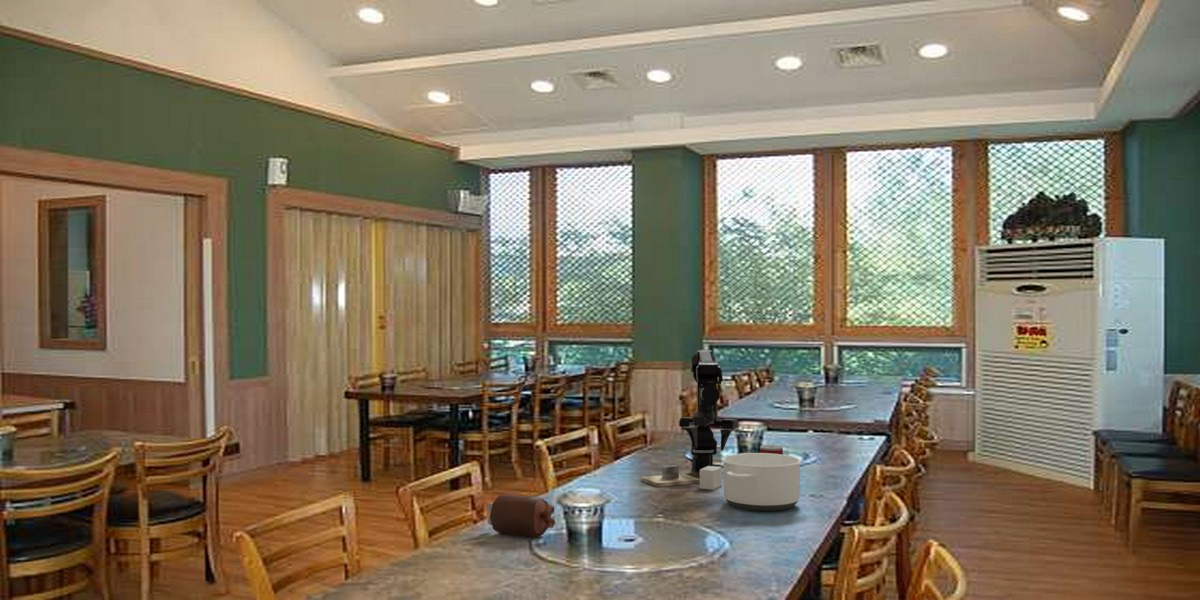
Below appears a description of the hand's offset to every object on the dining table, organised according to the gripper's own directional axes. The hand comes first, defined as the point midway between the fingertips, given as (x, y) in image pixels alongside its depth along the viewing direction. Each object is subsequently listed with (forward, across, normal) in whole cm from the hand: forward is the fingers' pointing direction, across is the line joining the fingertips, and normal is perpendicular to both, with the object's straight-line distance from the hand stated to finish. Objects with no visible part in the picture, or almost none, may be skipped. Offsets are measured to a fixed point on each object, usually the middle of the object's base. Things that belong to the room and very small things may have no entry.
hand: (708, 449), depth 305 cm
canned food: (+12, +14, +22) cm, 28 cm away
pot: (+13, +24, -18) cm, 33 cm away
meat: (+14, -20, -80) cm, 84 cm away
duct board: (+12, -15, +3) cm, 19 cm away
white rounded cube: (+12, 0, +1) cm, 12 cm away
